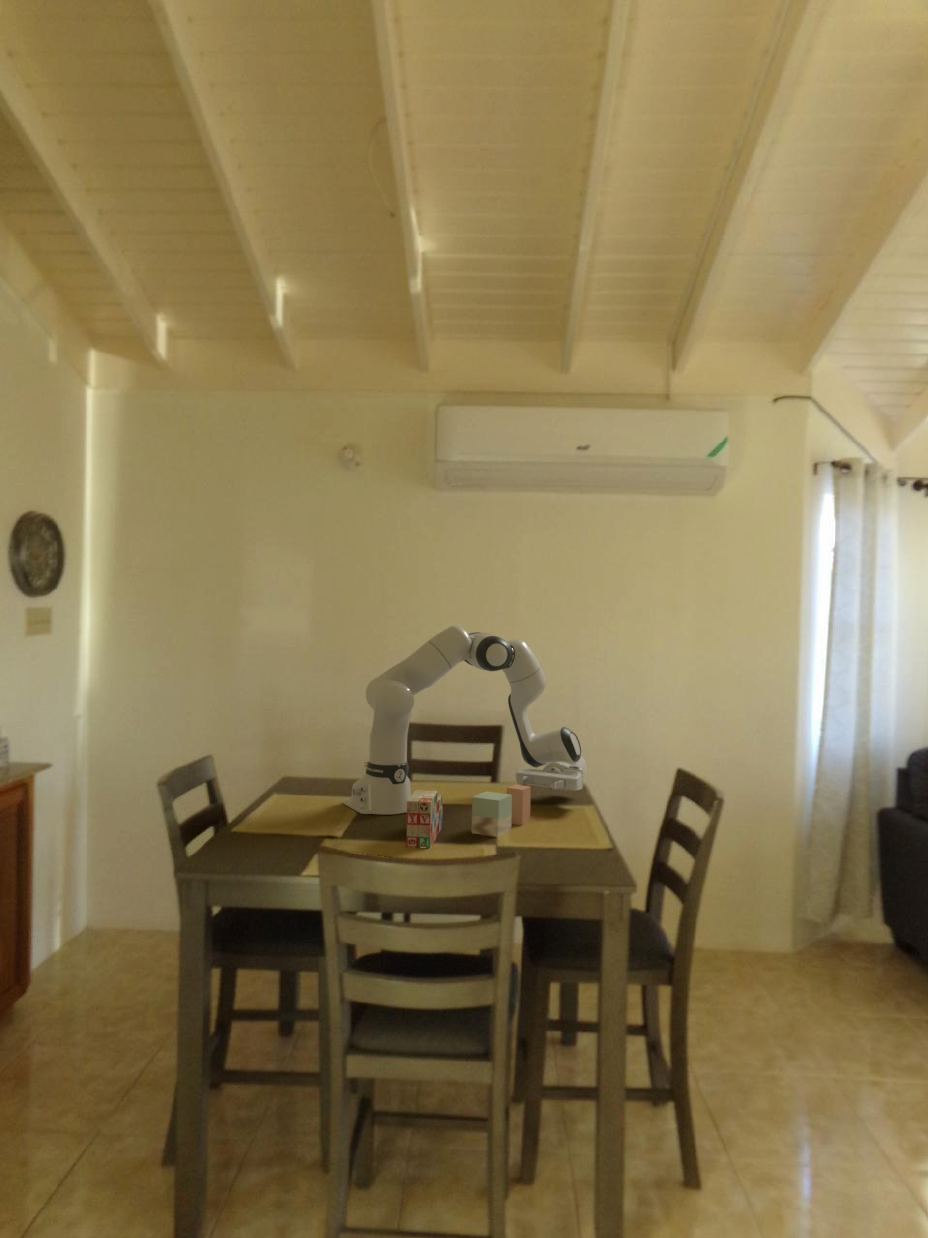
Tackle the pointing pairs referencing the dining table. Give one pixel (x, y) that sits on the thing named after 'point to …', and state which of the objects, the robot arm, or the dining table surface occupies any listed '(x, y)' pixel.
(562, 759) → the robot arm
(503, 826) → the tower bottom
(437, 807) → the stack of blocks
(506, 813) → the tower top
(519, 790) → the tall block
